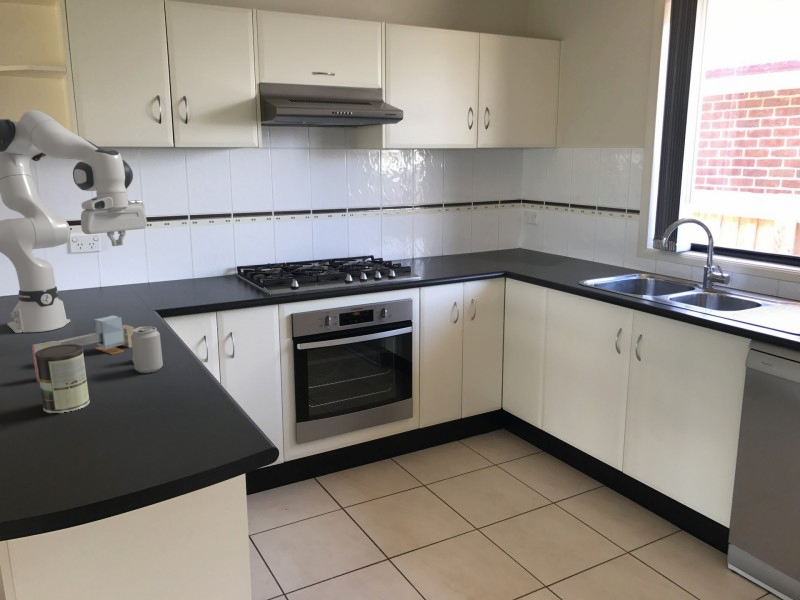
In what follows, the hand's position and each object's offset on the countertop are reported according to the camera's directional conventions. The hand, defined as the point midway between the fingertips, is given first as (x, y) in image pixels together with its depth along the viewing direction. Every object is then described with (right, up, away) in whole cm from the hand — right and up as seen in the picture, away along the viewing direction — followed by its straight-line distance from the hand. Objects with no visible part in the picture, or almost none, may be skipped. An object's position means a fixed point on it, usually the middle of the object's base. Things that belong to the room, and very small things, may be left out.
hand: (117, 245), depth 211 cm
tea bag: (-6, -39, -30) cm, 49 cm away
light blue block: (0, -31, -5) cm, 32 cm away
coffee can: (+9, -43, -51) cm, 67 cm away
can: (+19, -37, -25) cm, 49 cm away
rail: (-4, -34, -9) cm, 35 cm away
